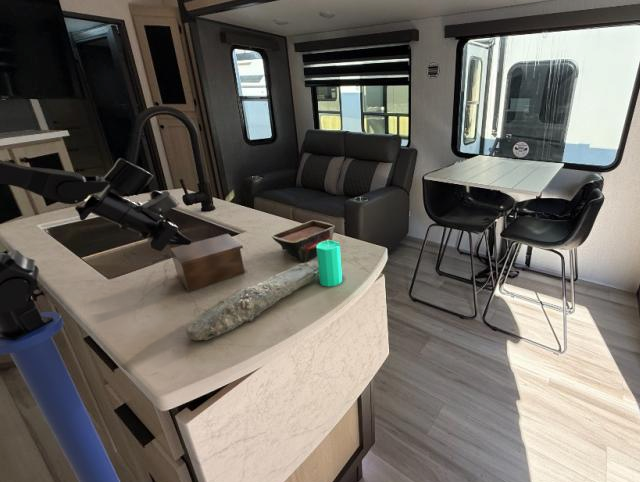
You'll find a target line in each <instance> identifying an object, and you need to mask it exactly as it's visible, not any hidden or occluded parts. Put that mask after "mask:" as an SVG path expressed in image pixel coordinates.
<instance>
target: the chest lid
mask: <svg viewBox="0 0 640 482" xmlns="http://www.w3.org/2000/svg"><path fill="white" fill-rule="evenodd" d="M243 246H244V245H243V244H242V243H240V242H239V241H238V240H236V239H235V238H234V237H233V236H231V235H230V234H229V233H226V234H225V233H224V234H221V235H218V236H217V235H216V236H214V237H210V238H205V239H201V240H198V241H194V242H191V244H190V245H179V246H178V245H177V246H175V247H171V248H169V250H170V253H171V252H172V253H173V255H174V256H175V257H176V259H177V260H178V261H179V263H180V264H181V265H182V266H183V265H186V264H190V263H193V262H197V261H200V260H204V259H207V258H210V257H214V256H217V255H221V254H224V253H228V252H231V251H234V250H238V249H240V250H241V249H244V247H243Z"/></svg>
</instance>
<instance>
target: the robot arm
mask: <svg viewBox="0 0 640 482" xmlns="http://www.w3.org/2000/svg"><path fill="white" fill-rule="evenodd" d="M154 177H155V175H154V174H152V173H151V172H150V171H149V172H148V171H147V170H145V169H144V168H142V167H140V166H139V165H137V164H133V163H131V162H129V161H128V160H125V159H124V158H122V157H119V158H118V159H117V160H116V161H115V163H114V165H113V166H112V168H111V169H110V170H109V171H108V172H107V173H106V174H105V175H82V174H80V173H78V172H75V171H70V170H61V169H54V168H43V167H33V166H26V165H22V164H17V163H14V162H10V161H5V160H2V159H0V184H3V185H7V186H11V187H12V186H13V187H17V188H20V189H23V190H25V191H28V192H31V193H33V194H35V195H38V196H39V197H43V198H46V199H49V200H52V201H55V202H58V203H61V204H65V205H75V206H74V210H75V211H76V212H77V214H78V217H79V220H80V221H85V220H86V219H87V218H88V217H89V216H90V214H92V215H95V216H97V217H100V218H102V219H104V220H106V221H108V222H111V223H113V224H115V225H118V226H119V228H120V229H122V230H125V231H126V230H127V229H128V230H129V231H132V232H134V233H137V234H139V236H140V237H142V238H144V239H146V240H147V242H148V245H149V246H150V248H151V249H153V250H155V251H158V252H162V251H164V249H165V248H166V247H167V245H173V246H174V245H175V246H176V245H177V246H178V245H179V246H182V245H190V244H191V243H193V241H192V240H191V239H190V238H188V237H187V236H186V235H184V234H183V233H182V232H180V231H179V227H178V226H177V225H176V224H175V222H174V221H173V220H172V219H171V218H170V217H168V216H167V217H166V218H165V219H163V218H164V216H163V215H164V214H165V213H167V212H168V211H171V210H172V209H176V208H177V207H178V206H179V205H180V202H179V201H178V200H177V199H176V198H175V196H173V194H172V193H170V192H169V191H168V190H163V191H162V192H161V191H159V190H157V189H154V190H152V191H150V192H149V197H150V199H148V200H147V201H146V202H145V203H142V202H139V201H137V202H136V201H132V200H129V199H127V198H126V197H128V198H130V197H133V196H139V194H140V193H142V191H143V190H144V189H145V187H147V185H148V184H149V183H150V182H151V180H152V179H153V178H154ZM112 190H113V191H115V192H117V193H115V192H113V191H112ZM118 193H119V194H118ZM120 194H121V195H120ZM122 195H123V196H125V197H123V196H122ZM85 200H86V201H85ZM84 201H85V202H84ZM82 202H84V203H83V204H80V205H76V204H79V203H82ZM39 278H40V269H39V267H38V265H36V259H33V258H30V257H27V256H24V254H22V253H21V252H20V251H19V250H17V249H16V248H12V249H11V250H10V251H9V252H7V253H5V252H0V339H6V340H18V339H20V338H22V337H23V336H25V335H27V334H29V333H31V332H33V331H34V330H36V329H38V328H40V327H42V326H44V325H45V324H47V323H49V322H51V321H53V320H54V319H53V318H52V317H44V316H41V314H40V313H41V312H40V310H39V308H38V307H37V304H36V301H35V299H34V298H33V296H32V294H33V293H34V292H35V291H36V290H37V288H38V286H39Z"/></svg>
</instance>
